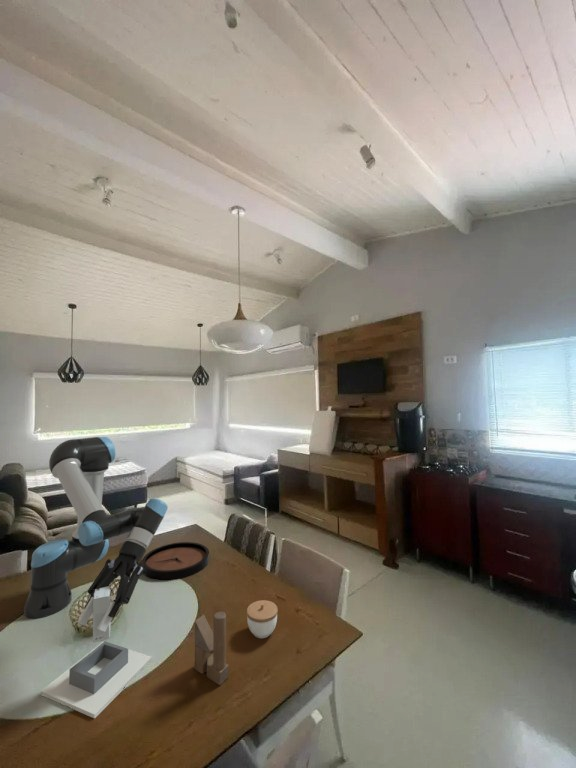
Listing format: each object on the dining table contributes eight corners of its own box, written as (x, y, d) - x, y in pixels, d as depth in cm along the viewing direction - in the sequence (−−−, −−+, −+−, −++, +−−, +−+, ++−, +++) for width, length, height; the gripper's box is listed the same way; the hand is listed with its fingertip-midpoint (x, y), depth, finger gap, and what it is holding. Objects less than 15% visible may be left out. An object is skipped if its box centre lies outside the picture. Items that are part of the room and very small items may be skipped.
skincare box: (109, 638, 95) (110, 595, 96) (91, 643, 93) (92, 599, 94) (110, 625, 101) (111, 584, 101) (93, 630, 99) (94, 588, 99)
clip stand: (40, 694, 91) (41, 675, 91) (103, 644, 110) (103, 628, 110) (94, 718, 84) (95, 698, 84) (151, 660, 103) (152, 643, 103)
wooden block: (203, 661, 102) (203, 601, 103) (228, 677, 96) (229, 613, 97) (193, 669, 99) (194, 607, 100) (219, 686, 93) (220, 620, 94)
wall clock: (217, 543, 178) (194, 574, 147) (217, 551, 177) (194, 583, 146) (162, 540, 181) (128, 569, 150) (162, 548, 181) (127, 579, 150)
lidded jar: (273, 645, 109) (273, 616, 109) (242, 641, 111) (242, 612, 111) (280, 624, 119) (280, 597, 120) (252, 620, 121) (252, 593, 122)
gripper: (165, 554, 109) (125, 638, 93) (119, 545, 116) (74, 623, 100) (154, 544, 104) (109, 631, 88) (106, 535, 111) (57, 615, 95)
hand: (91, 626), depth 94 cm, fingers closed on skincare box, 7 cm apart
